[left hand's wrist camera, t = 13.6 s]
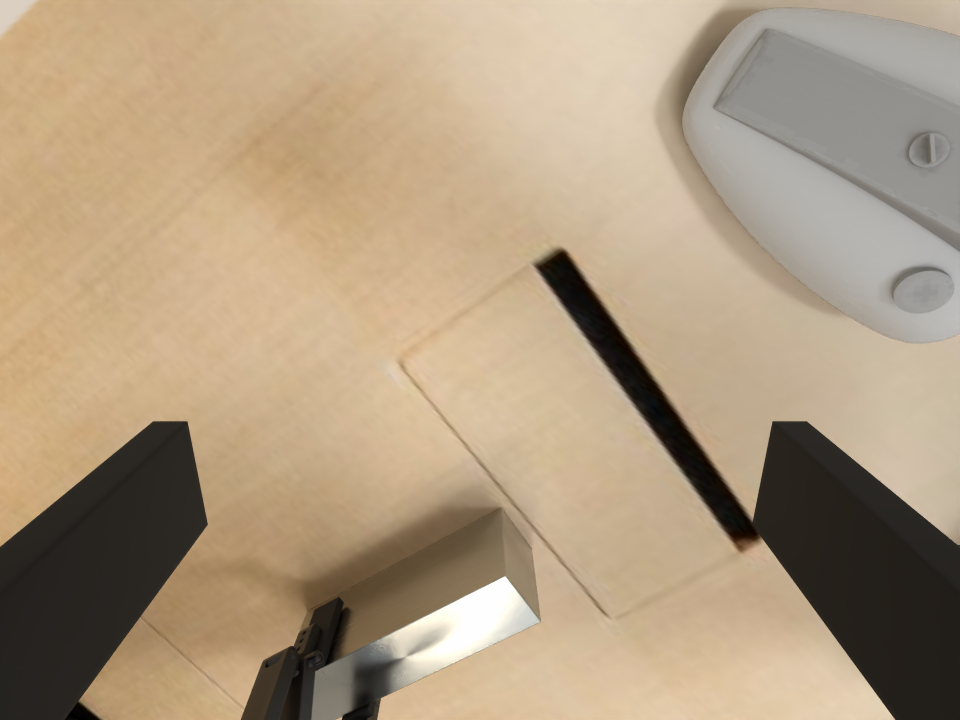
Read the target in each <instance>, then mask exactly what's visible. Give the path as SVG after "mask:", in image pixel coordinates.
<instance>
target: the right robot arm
mask: <svg viewBox="0 0 960 720" xmlns="http://www.w3.org/2000/svg"><path fill="white" fill-rule="evenodd" d="M343 604H344V602H343V601H342V600H341V598H340V597H337V598H335V599H334V600H332V601H330V602H328V603H326V604H324V605H322V606H320V607H319V608H317V609H315V610H314V612H313V615H312V618H311V621H310V624H309V626H308V627H306V628H304V629H303V630H301V631H300V632H299V634H298V637H297V639H296V642H295V644H294V647H293V646H290V647H288V648H286V649H284V650H282V651H280V652H278V653H276V654H275V655H273V656H271V657H269V658H267V659H265V660H264V661H263V662H262V665H261V667H260V670H259V673H258V675H257V678H256V681H255V683H254V686H253V689H252V691H251V694H250V697H249V699H248V702H247V705H246V707H245V710H244V713H243V715H242V718H241V720H311V718H312V706H313V694H314V683H315V671H316V669H318V668H320V667H322V666H324V665H325V664H326V661H327V657H328V654H329V651H330V647H331V644H332V641H333V637H334V634H335V631H336V627H337V624H338V621H339V618H340V614H341V611H342V608H343ZM380 701H381V698H380V699H378V700H376V701H374V702H372V703H370V704H368V705H365V706H363V707H361V708H359V709H357V710H355V711H353V712H351V713H349V714H347V715H344V716H343V717H342V720H377V717H378V712H379V706H380V705H379V704H380ZM65 720H78V719H76V718H74V717H72V716H69V715H68V716H67V717H66V719H65Z"/></svg>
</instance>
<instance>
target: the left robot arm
mask: <svg viewBox="0 0 960 720" xmlns="http://www.w3.org/2000/svg"><path fill="white" fill-rule="evenodd" d="M207 525H208V523H207V518H206V513H205V508H204V503H203V498H202V493H201V488H200V483H199V478H198V473H197V468H196V463H195V457H194V452H193V447H192V442H191V437H190V432H189V427H188V422H187V421H153V422H152V423H151V424H150V425H148V426H147V427H146V428H145V429H143V430H142V431H141V432H140V433H139V434H137V435H136V436H135V437H134V438H132V439H131V440H130V441H129V442H128V443H126V444H125V445H124V446H123V447H122V448H120V449H119V450H118V451H117V452H115V453H114V454H113V455H112V456H111V457H109V458H108V459H107V460H106V461H104V462H103V463H102V464H101V465H100V466H98V467H97V468H96V469H95V470H93V471H92V472H91V473H90V474H89V475H87V476H86V477H85V478H84V479H82V480H81V481H80V482H79V483H78V484H76V485H75V486H74V487H73V488H72V489H70V490H69V491H68V492H67V493H65V494H64V495H63V496H62V497H61V498H59V499H58V500H57V501H56V502H54V503H53V504H52V505H51V506H50V507H48V508H47V509H46V510H45V511H43V512H42V513H41V514H40V515H39V516H37V517H36V518H35V519H34V520H33V521H31V522H30V523H29V524H28V525H26V526H25V527H24V528H23V529H22V530H20V531H19V532H18V533H17V534H15V535H14V536H13V537H12V538H11V539H9V540H8V541H7V542H6V543H4V544H3V545H2V546H1V547H0V720H65V719H66V717H67V716H68V714H69V713H70V712H71V710H72V709H73V708H74V706H75V705H76V704H77V702H78V701H79V699H80V698H81V697H82V695H83V694H84V693H85V691H86V690H87V689H88V687H89V686H90V684H91V683H92V682H93V680H94V679H95V678H96V676H97V675H98V674H99V672H100V671H101V669H102V668H103V667H104V665H105V664H106V663H107V661H108V660H109V659H110V657H111V656H112V654H113V653H114V652H115V650H116V649H117V648H118V646H119V645H120V644H121V642H122V641H123V639H124V638H125V637H126V635H127V634H128V633H129V631H130V630H131V629H132V627H133V626H134V624H135V623H136V622H137V620H138V619H139V618H140V616H141V615H142V614H143V612H144V611H145V609H146V608H147V607H148V605H149V604H150V603H151V601H152V600H153V599H154V597H155V596H156V594H157V593H158V592H159V590H160V589H161V588H162V586H163V585H164V584H165V582H166V581H167V579H168V578H169V577H170V575H171V574H172V573H173V571H174V570H175V569H176V567H177V566H178V564H179V563H180V562H181V560H182V559H183V558H184V556H185V555H186V554H187V552H188V551H189V549H190V548H191V547H192V545H193V544H194V543H195V541H196V540H197V539H198V537H199V536H200V534H201V533H202V532H203V530H204V529H205V528H206V526H207ZM752 525H753V526H754V528H755V529H756V530H757V532H758V533H759V534H760V536H761V537H762V539H763V540H764V541H765V543H766V544H767V545H768V547H769V548H770V549H771V551H772V552H773V554H774V555H775V556H776V558H777V559H778V560H779V562H780V563H781V564H782V566H783V567H784V569H785V570H786V571H787V573H788V574H789V575H790V577H791V578H792V579H793V581H794V582H795V584H796V585H797V586H798V588H799V589H800V590H801V592H802V593H803V594H804V596H805V597H806V599H807V600H808V601H809V603H810V604H811V605H812V607H813V608H814V609H815V611H816V612H817V614H818V615H819V616H820V618H821V619H822V620H823V622H824V623H825V624H826V626H827V627H828V629H829V630H830V631H831V633H832V634H833V635H834V637H835V638H836V639H837V641H838V642H839V644H840V645H841V646H842V648H843V649H844V650H845V652H846V653H847V654H848V656H849V657H850V659H851V660H852V661H853V663H854V664H855V665H856V667H857V668H858V669H859V671H860V672H861V674H862V675H863V676H864V678H865V679H866V680H867V682H868V683H869V684H870V686H871V687H872V689H873V690H874V691H875V693H876V694H877V695H878V697H879V698H880V699H881V701H882V702H883V704H884V705H885V706H886V708H887V709H888V710H889V712H890V713H891V714H892V716H893V717H894V719H895V720H960V545H957V544H956V543H954V542H953V541H952V540H951V539H949V538H948V537H947V536H946V535H945V534H943V533H942V532H941V531H940V530H938V529H937V528H936V527H935V526H934V525H932V524H931V523H930V522H929V521H927V520H926V519H925V518H924V517H923V516H921V515H920V514H919V513H918V512H917V511H915V510H914V509H913V508H912V507H910V506H909V505H908V504H907V503H906V502H904V501H903V500H902V499H901V498H899V497H898V496H897V495H896V494H895V493H893V492H892V491H891V490H890V489H888V488H887V487H886V486H885V485H884V484H882V483H881V482H880V481H879V480H877V479H876V478H875V477H874V476H873V475H871V474H870V473H869V472H868V471H867V470H865V469H864V468H863V467H862V466H860V465H859V464H858V463H857V462H856V461H854V460H853V459H852V458H851V457H849V456H848V455H847V454H846V453H845V452H843V451H842V450H841V449H840V448H838V447H837V446H836V445H835V444H834V443H832V442H831V441H830V440H829V439H828V438H826V437H825V436H824V435H823V434H821V433H820V432H819V431H818V430H817V429H815V428H814V427H813V426H812V425H810V424H809V423H808V422H807V421H773V422H772V427H771V432H770V437H769V442H768V447H767V452H766V457H765V463H764V468H763V473H762V478H761V483H760V488H759V493H758V498H757V503H756V508H755V513H754V518H753V523H752Z"/></svg>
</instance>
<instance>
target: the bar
mask: <svg viewBox="0 0 960 720" xmlns="http://www.w3.org/2000/svg"><path fill="white" fill-rule="evenodd" d="M337 597H340V598H341V600H342V601H343V602H344V604H343V608H342V611H341V614H340V618H339V621H338V624H337V627H336V631H335V634H334V637H333V641H332V644H331V647H330V651H329V654H328V657H327V661H326V664H325V665H324V666H322V667H320V668H318V669H316V671H315V683H314V694H313V706H312V718H311V720H336V719H338V718H340V717H342V716H344V715H347V714H349V713H351V712H353V711H355V710H357V709H359V708H361V707H363V706H365V705H368V704H370V703H372V702H374V701H376V700H378V699H380V698H382V697H384V696H386V695H388V694H391V693H393V692H395V691H397V690H399V689H401V688H403V687H405V686H407V685H409V684H412V683H414V682H416V681H418V680H420V679H422V678H424V677H426V676H428V675H430V674H433V673H435V672H437V671H439V670H441V669H443V668H445V667H447V666H449V665H451V664H454V663H456V662H458V661H460V660H462V659H464V658H466V657H468V656H470V655H472V654H475V653H477V652H479V651H481V650H483V649H485V648H487V647H489V646H491V645H493V644H495V643H498V642H500V641H502V640H504V639H506V638H508V637H510V636H512V635H514V634H516V633H519V632H521V631H523V630H525V629H527V628H529V627H531V626H533V625H535V624H537V623H540V622H541V618H540V610H539V603H538V595H537V587H536V579H535V571H534V563H533V555H532V548H531V547H530V545H529V544H528V543H527V541H526V540H525V539H524V537H523V536H522V534H521V533H520V532H519V530H518V529H517V528H516V526H515V525H514V524H513V522H512V521H511V519H510V518H509V517H508V515H507V514H506V513H505V511H504V510H503V508H500V509H498V510H496V511H494V512H492V513H490V514H488V515H486V516H485V517H483V518H481V519H479V520H477V521H475V522H473V523H471V524H470V525H468V526H466V527H464V528H462V529H460V530H458V531H456V532H455V533H453V534H451V535H449V536H447V537H445V538H443V539H441V540H440V541H438V542H436V543H434V544H432V545H430V546H428V547H426V548H425V549H423V550H421V551H419V552H417V553H415V554H413V555H411V556H410V557H408V558H406V559H404V560H402V561H400V562H398V563H396V564H395V565H393V566H391V567H389V568H387V569H385V570H383V571H381V572H380V573H378V574H376V575H374V576H372V577H370V578H368V579H366V580H365V581H363V582H361V583H359V584H357V585H355V586H353V587H351V588H350V589H348V590H346V591H344V592H342V593H340V594H338V595H336V596H335V597H333V598H331V599H329V600H327V601H325V602H323V603H321V604H320V605H318V606H316V607H314V608H312V609H310V610H308V611H307V614H306V616H305V619H304V622H303V624H302V627H301V630H303V629H304V628H306V627H308V626H309V624H310V621H311V618H312V615H313V612H314V610H315V609H317V608H319V607H320V606H322V605H324V604H326V603H328V602H330V601H332V600H334V599H335V598H337ZM301 630H300V631H301Z"/></svg>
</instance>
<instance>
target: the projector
mask: <svg viewBox="0 0 960 720" xmlns="http://www.w3.org/2000/svg"><path fill="white" fill-rule="evenodd" d="M682 128H683V133H684V136H685V139H686V141H687V143H688V146H689V148H690V150H691V152H692V154H693V155H694V157H695V159H696V161H697V162H698V164H699V166H700V167H701V169H702V171H703V172H704V174H705V175H706V177H707V179H708V180H709V182H710V183H711V185H712V186H713V188H714V189H715V190H716V192H717V193H718V195H719V196H720V197H721V199H722V200H723V202H724V203H725V204H726V206H727V207H728V208H729V210H730V211H731V212H732V213H733V215H734V216H735V217H736V218H737V220H738V221H739V222H740V224H741V225H742V226H743V227H744V228H745V229H746V230H747V231H748V233H749V234H750V235H751V236H752V237H753V238H754V239H755V240H756V241H757V242H758V243H759V244H760V245H761V246H762V247H763V248H764V249H765V250H766V251H767V252H768V253H769V254H770V255H771V256H772V257H773V258H774V259H775V260H776V261H777V262H778V263H779V264H780V265H781V266H783V267H784V268H785V269H786V270H787V271H788V272H789V273H790V274H791V275H793V276H794V277H795V278H796V279H798V280H799V281H800V282H801V283H803V284H804V285H805V286H806V287H808V288H809V289H810V290H811V291H813V292H814V293H816V294H817V295H818V296H820V297H821V298H822V299H824V300H825V301H826V302H828V303H829V304H831V305H832V306H834V307H835V308H837V309H838V310H839V311H841V312H842V313H844V314H845V315H847V316H849V317H850V318H852V319H854V320H855V321H857V322H859V323H860V324H862V325H864V326H866V327H868V328H870V329H872V330H873V331H875V332H878V333H880V334H882V335H884V336H887V337H890V338H892V339H895V340H899V341H903V342H907V343H916V344H923V343H932V342H937V341H942V340H945V339H948V338H951V337H953V336H956V335H958V334H960V36H957V35H954V34H950V33H947V32H943V31H940V30H936V29H932V28H928V27H924V26H920V25H916V24H911V23H907V22H903V21H897V20H892V19H886V18H881V17H875V16H870V15H864V14H857V13H850V12H842V11H834V10H824V9H811V8H791V7H790V8H772V9H767V10H762V11H759V12H757V13H755V14H753V15H751V16H749V17H747V18H746V19H744V20H743V21H742V22H740V23H739V24H738V25H737V26H736V27H735V28H734V29H733V30H732V31H731V32H730V33H729V34H728V35H727V37H726V38H725V39H724V40H723V42H722V43H721V44H720V46H719V47H718V48H717V50H716V51H715V53H714V54H713V56H712V57H711V59H710V60H709V62H708V63H707V65H706V66H705V68H704V69H703V71H702V73H701V74H700V76H699V78H698V79H697V81H696V83H695V84H694V86H693V88H692V90H691V92H690V94H689V97H688V99H687V102H686V104H685V107H684V111H683V117H682Z"/></svg>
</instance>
